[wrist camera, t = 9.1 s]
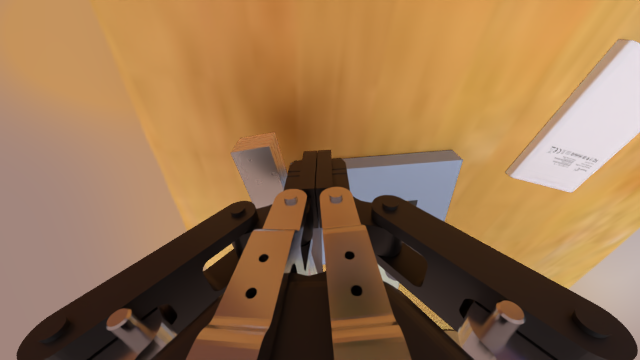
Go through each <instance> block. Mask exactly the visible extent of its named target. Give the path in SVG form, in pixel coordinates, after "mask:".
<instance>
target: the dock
mask: <svg viewBox="0 0 640 360" xmlns="http://www.w3.org/2000/svg"><path fill="white" fill-rule="evenodd" d="M342 160H343V161H344V162H346V167H347V174H348V180H349V187H350V192H351V193H352V195H353V196H354V197H355V198H357V199H359V200H361V201H365V202H371V203H372V202H373V200H374V199H375V198H376V197H378V196H382V195H393V196H397V197H400V198H402V199H403V200H405V201H409V203H411V204H413V205H414V206H416V207H418V208H420V209H422V210H424V211H425V212H427V213H429V214H431V215H433V216H435V217H436V218H438V219H440V220H442V221H445V217H446V214H447V211H448V207H449V204H450V201H451V198H452V194H453V191H454V188H455V184H456V181H457V178H458V175H459V171H460V168H461V165H462V161H463V159H461V158H460V157H459V156H458V155H457V154H456V153H455V152H454V151H453V150H446V151H433V152H421V153H408V154H396V155H383V156H371V157H359V158H346V159H342ZM291 164H292V163H291ZM312 239H313V244H312V251H311V254H312V257H313V260H314V263H315V267H316V270H317V273H322V272H323V265H322V264H326V263H325V252H324V241H323V230H322V228H320V226H319V228H313V237H312Z"/></svg>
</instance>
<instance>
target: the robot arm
mask: <svg viewBox="0 0 640 360" xmlns="http://www.w3.org/2000/svg"><path fill="white" fill-rule="evenodd" d="M319 226H320V228H322V230H323V241H324V252H325V263H326V271H325V272H322V273H318V274H314V275H308V270H309V264H310V257H311V251H312V244H313V239H312V237H313V228H319ZM403 242H404V243H403ZM231 243H232V245H233V247H234V249H233V250H232V251H230V252H229V253H228V254H226V255H225V256H224V257H222V258H221V259H220V260H218V261H217V262H216V263H214V264H213V265H212V266H210V267H209V268H208V269H206V270H205V271H203V267H204V265H205V263H206V262H207V261H208V260H209V259H211V258H212V257H213V256H215V255H216V254H218V253H219V252H220V251H222V250H223V249H224V248H226V247H227V246H228V245H230V244H231ZM406 244H407V245H408V246H407V245H406ZM409 246H410V247H411V248H410V247H409ZM413 249H414V250H413ZM416 251H417V252H418V253H417V252H416ZM419 253H420V254H421V255H420V254H419ZM378 265H379V266H380V267H382V268H383V269H384V270H385V271H386V272H388V273H389V274H390V275H391V276H392V277H393V278H395V279H396V280H397V281H398V282H399V283H400V284H402V285H403V286H404V287H405V288H406V289H407V290H409V291H410V292H411V293H412V294H413V295H415V296H416V297H417V298H418V299H419V300H420V301H422V302H423V303H424V304H425V305H426V306H427V307H429V308H430V309H431V310H432V311H433V312H435V313H436V314H437V315H438V316H439V317H440V318H442V319H443V320H444V321H445V322H446V323H447V324H449V325H450V326H451V327H452V328H453V329H454V330H456V331H443V330H442V329H441V328H440V327H439V326H438V325H437V324H436V323H435V322H434V321H432V320H431V319H430V318H429V317H428V316H427V315H426V314H425V313H424V312H423V311H422V310H421V309H420V308H418V307H417V306H416V305H415V304H414V303H413V302H412V301H411V300H410V299H409V298H408V297H407V296H406V295H404V294H403V293H402V292H401V291H400V290H398V289H397V288H395V287H394V286H392V285H391V284H389V283H387V282H385V281H383V280H382V277H381V274H380V270H379V267H378ZM637 351H638V350H637V345H636V342H635V340H634V338H633V336H632V335H631V333H630V332H629V331H628V329H627V328H626V327H625V326H624V325H623V324H622V323H621V322H620V321H618V319H616V318H615V317H614V316H612V315H611V314H610V313H609V312H607V311H606V310H604V309H603V308H601V307H599V306H598V305H596V304H594V303H592V302H591V301H589V300H587V299H585V298H583V297H581V296H579V295H578V294H576V293H574V292H572V291H570V290H569V289H567V288H565V287H563V286H561V285H559V284H558V283H556V282H554V281H552V280H550V279H548V278H547V277H545V276H543V275H541V274H539V273H537V272H536V271H534V270H532V269H530V268H528V267H526V266H524V265H523V264H521V263H519V262H517V261H515V260H513V259H512V258H510V257H508V256H506V255H504V254H502V253H501V252H499V251H497V250H495V249H493V248H491V247H490V246H488V245H486V244H484V243H482V242H480V241H479V240H477V239H475V238H473V237H471V236H469V235H468V234H466V233H464V232H462V231H460V230H458V229H457V228H455V227H453V226H451V225H449V224H447V223H446V222H444V221H442V220H440V219H438V218H436V217H435V216H433V215H431V214H429V213H427V212H425V211H424V210H422V209H420V208H418V207H416V206H414V205H413V204H411V203H409V202H407V201H405V200H403V199H402V198H400V197H397V196H393V195H382V196H378V197H376V198H375V199H374V200H373V202H372V203H371V202H365V201H361V200H359V199H357V198H355V197H354V196H353V195H352V193H351V192H350V187H349V180H348V174H347V167H346V162H344V161H343V160H342V159H341V158H336V159H331V150H320V151H318V153H317V151H304V153H303V159H302V160H301V161H294V162H293V163H292V164H291V165H290V167H289V171H288V175H287V178H286V182H285V186H284V190H283V191H282V192H281V193H279V194H278V195H277V196H276V197H275V199H274V202H273V204H271V205H268V206H265V207H261V208H257V209H256V207H255V205H254V204H253V203H252V202H249V201H240V202H236V203H233V204H231V205H229V206H228V207H226V208H224V209H223V210H221V211H219V212H218V213H216V214H215V215H213V216H211V217H210V218H208V219H206V220H205V221H203V222H201V223H200V224H198V225H197V226H195V227H193V228H192V229H190V230H188V231H187V232H185V233H184V234H182V235H180V236H179V237H177V238H176V239H174V240H172V241H171V242H169V243H167V244H166V245H164V246H162V247H161V248H159V249H158V250H156V251H154V252H153V253H151V254H149V255H148V256H146V257H144V258H143V259H141V260H140V261H138V262H137V263H135V264H133V265H131V266H130V267H128V268H127V269H125V270H123V271H122V272H120V273H118V274H117V275H115V276H114V277H112V278H110V279H109V280H107V281H106V282H104V283H102V284H101V285H99V286H97V287H96V288H94V289H93V290H91V291H89V292H87V293H86V294H84V295H83V296H81V297H80V298H78V299H76V300H75V301H73V302H71V303H70V304H68V305H66V306H65V307H63V308H61V309H60V310H58V311H57V312H55V313H53V314H52V315H50V316H49V317H47V318H46V319H44V320H43V321H42V322H41V323H40V324H38V325H37V326H36V327H35V328H34V329H33V330H32V331H31V332H30V333H29V334H28V335H27V336H26V337H25V339H24V340H23V341H22V343H21V345H20V346H19V349H18V351H17V360H633V359H634V358H635V357H636V356H637Z"/></svg>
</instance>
